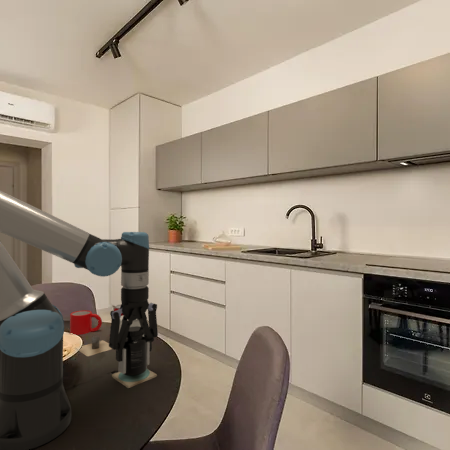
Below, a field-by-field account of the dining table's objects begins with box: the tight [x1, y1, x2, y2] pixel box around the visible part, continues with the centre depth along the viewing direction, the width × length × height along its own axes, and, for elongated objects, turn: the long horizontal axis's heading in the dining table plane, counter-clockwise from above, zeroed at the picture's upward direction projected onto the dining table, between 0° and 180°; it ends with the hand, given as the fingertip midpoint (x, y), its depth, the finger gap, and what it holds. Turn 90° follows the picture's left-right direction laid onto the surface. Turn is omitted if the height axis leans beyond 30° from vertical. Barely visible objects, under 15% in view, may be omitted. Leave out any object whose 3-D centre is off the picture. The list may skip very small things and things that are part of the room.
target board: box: [111, 368, 158, 389], centre depth 90 cm, size 9×9×1 cm
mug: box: [69, 309, 103, 336], centre depth 125 cm, size 8×12×8 cm, turn 96°
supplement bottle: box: [124, 326, 148, 376], centre depth 89 cm, size 7×7×12 cm
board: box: [78, 334, 113, 357], centre depth 108 cm, size 10×10×5 cm
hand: (134, 367), depth 90 cm, fingers closed on supplement bottle, 7 cm apart
